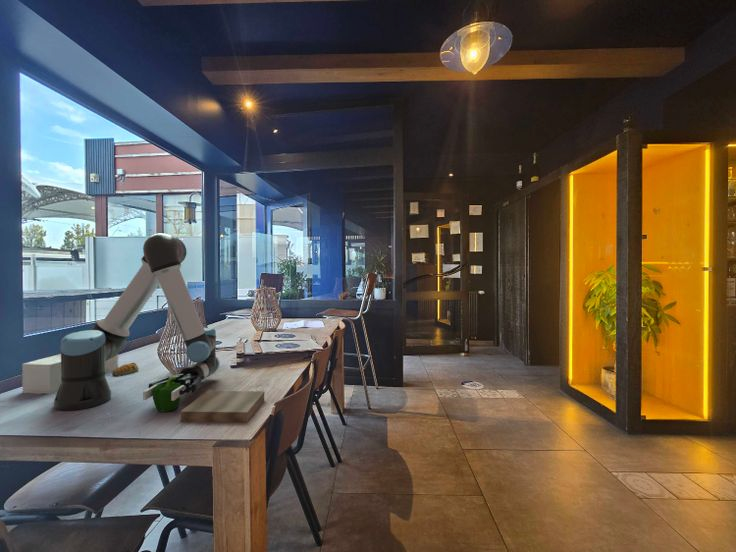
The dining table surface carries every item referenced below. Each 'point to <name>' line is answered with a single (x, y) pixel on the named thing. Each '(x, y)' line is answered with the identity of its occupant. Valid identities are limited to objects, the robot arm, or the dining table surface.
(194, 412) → the walnut board
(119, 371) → the pastry
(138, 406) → the dining table surface
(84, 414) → the dining table surface
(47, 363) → the long cream beam
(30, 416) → the dining table surface
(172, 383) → the bell pepper
